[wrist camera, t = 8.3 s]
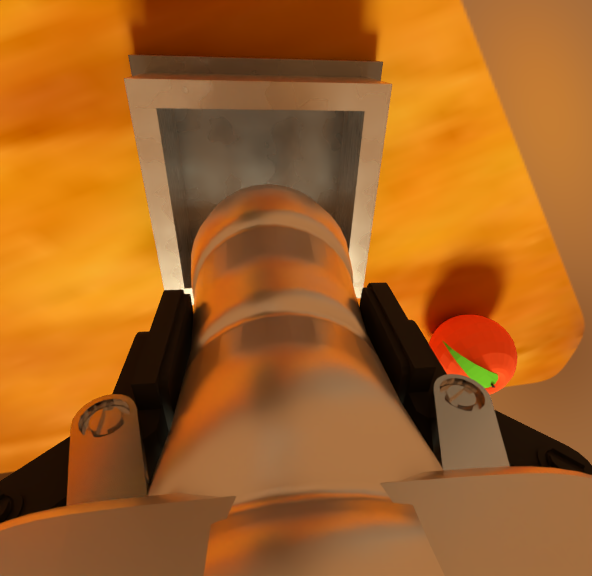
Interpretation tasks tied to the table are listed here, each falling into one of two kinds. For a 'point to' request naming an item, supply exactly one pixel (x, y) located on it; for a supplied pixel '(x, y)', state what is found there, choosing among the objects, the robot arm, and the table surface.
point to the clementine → (476, 350)
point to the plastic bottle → (290, 403)
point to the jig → (255, 142)
